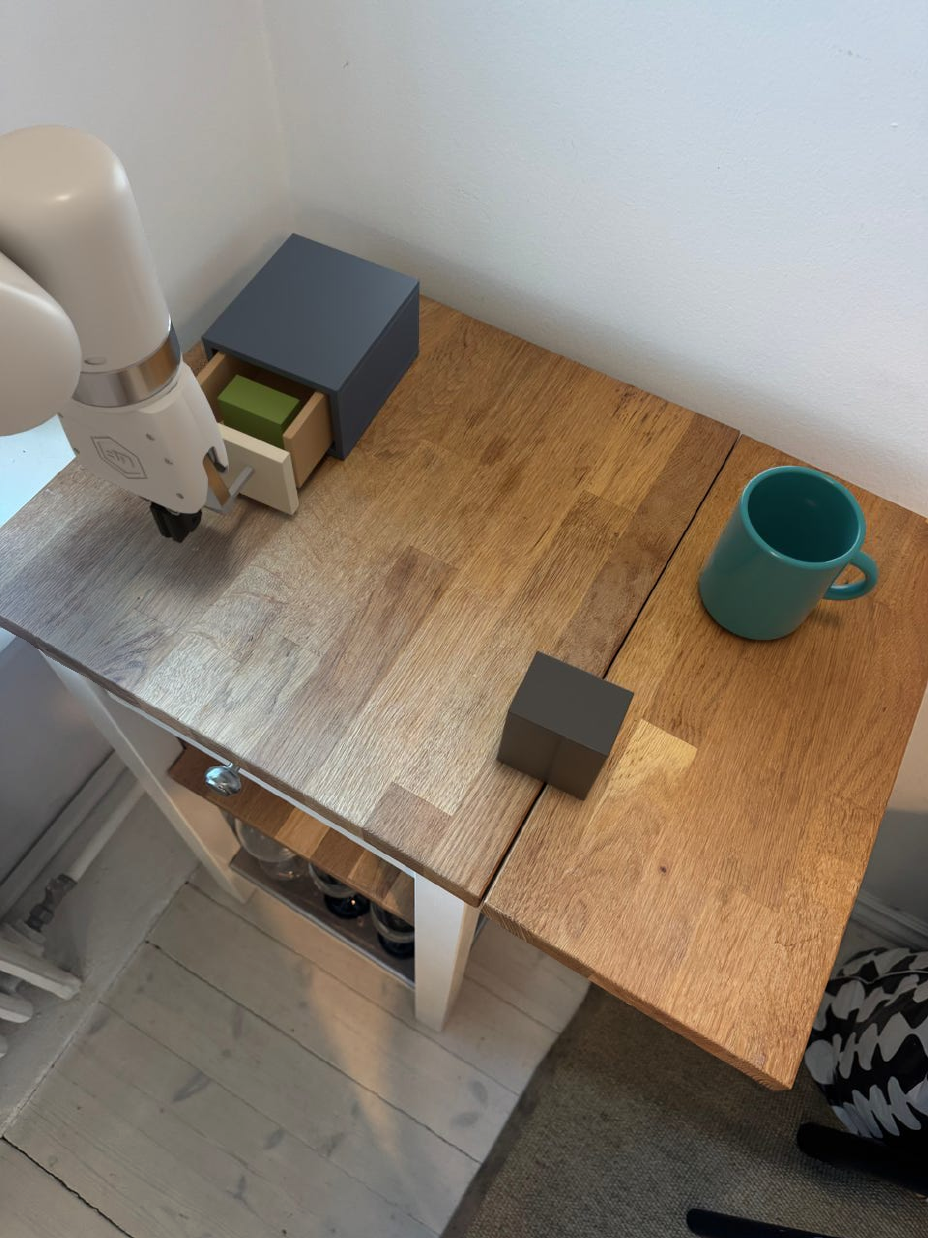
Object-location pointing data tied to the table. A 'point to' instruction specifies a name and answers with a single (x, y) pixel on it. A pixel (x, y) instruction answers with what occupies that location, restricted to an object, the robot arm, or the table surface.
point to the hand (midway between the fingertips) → (182, 525)
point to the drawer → (260, 463)
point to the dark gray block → (562, 724)
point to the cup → (785, 553)
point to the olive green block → (258, 410)
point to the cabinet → (326, 329)
